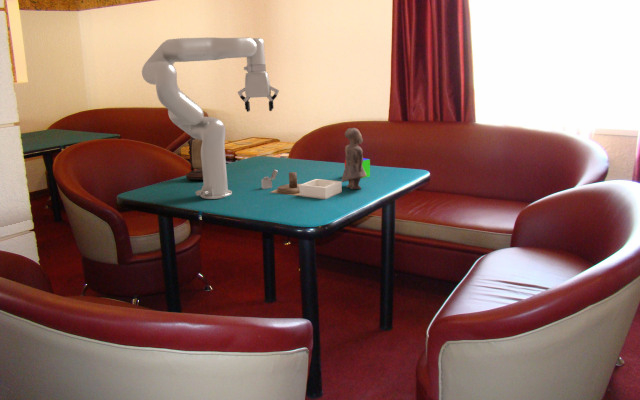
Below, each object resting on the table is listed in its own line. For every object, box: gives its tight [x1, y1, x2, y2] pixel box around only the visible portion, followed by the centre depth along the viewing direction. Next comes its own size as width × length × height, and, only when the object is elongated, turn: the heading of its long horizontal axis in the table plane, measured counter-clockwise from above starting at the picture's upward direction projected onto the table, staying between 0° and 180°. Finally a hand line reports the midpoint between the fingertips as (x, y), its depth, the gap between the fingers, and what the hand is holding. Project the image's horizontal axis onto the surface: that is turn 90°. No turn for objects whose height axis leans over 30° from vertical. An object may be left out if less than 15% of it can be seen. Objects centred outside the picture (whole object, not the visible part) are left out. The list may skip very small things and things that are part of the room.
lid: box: [277, 171, 302, 195], centre depth 230 cm, size 13×13×7 cm
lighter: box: [260, 169, 279, 190], centre depth 237 cm, size 7×2×8 cm, turn 116°
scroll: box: [185, 136, 203, 182], centre depth 260 cm, size 15×15×20 cm
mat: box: [270, 188, 300, 197], centre depth 231 cm, size 14×14×1 cm
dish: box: [299, 178, 343, 200], centre depth 223 cm, size 12×12×5 cm
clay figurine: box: [341, 127, 367, 190], centre depth 230 cm, size 13×10×25 cm
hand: (259, 111), depth 237 cm, fingers open, 9 cm apart
